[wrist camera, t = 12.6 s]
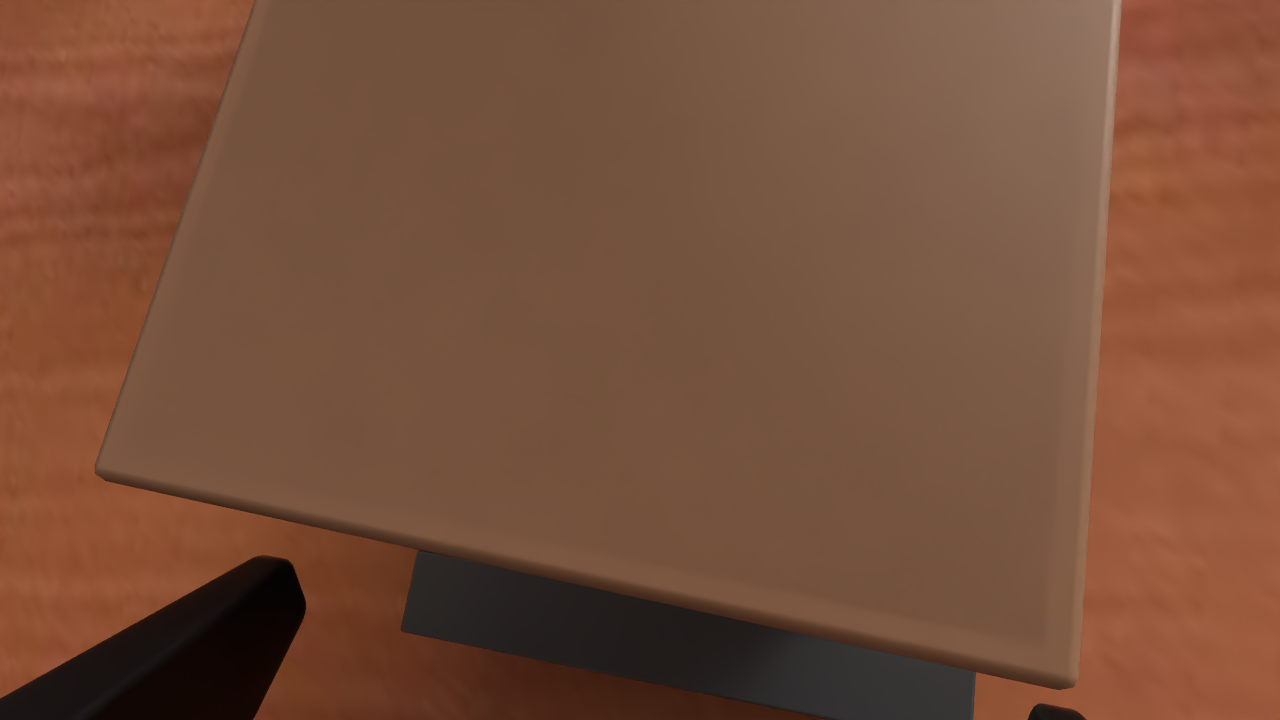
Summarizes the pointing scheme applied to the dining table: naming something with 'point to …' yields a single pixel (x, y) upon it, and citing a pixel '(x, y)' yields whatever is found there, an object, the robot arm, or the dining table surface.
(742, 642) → the dark grey square tray
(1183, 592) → the dining table surface
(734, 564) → the tan rectangular block
